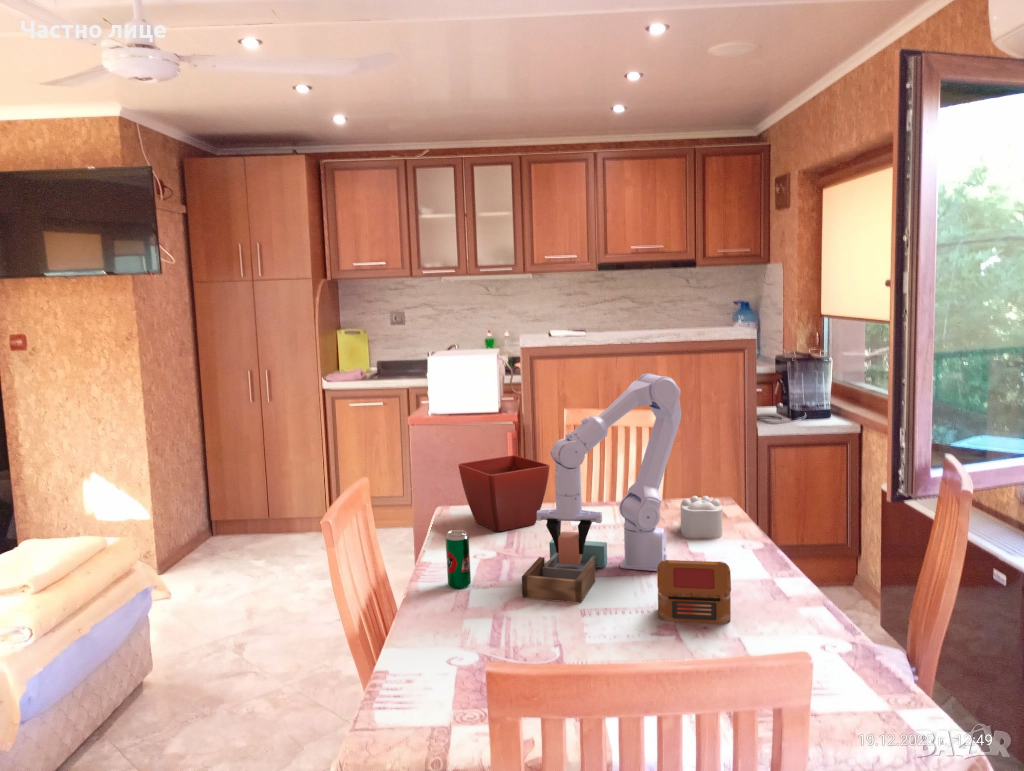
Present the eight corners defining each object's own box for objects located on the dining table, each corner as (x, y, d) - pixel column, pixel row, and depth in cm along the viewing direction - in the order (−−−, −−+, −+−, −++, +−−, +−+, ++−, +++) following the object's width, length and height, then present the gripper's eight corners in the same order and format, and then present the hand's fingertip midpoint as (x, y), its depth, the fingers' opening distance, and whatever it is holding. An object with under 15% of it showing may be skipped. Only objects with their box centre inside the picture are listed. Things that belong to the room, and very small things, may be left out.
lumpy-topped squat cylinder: (682, 538, 194) (681, 505, 193) (679, 523, 207) (679, 492, 206) (724, 539, 193) (723, 505, 192) (719, 523, 205) (718, 492, 204)
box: (761, 592, 159) (761, 537, 157) (779, 654, 132) (779, 589, 130) (625, 587, 165) (624, 534, 163) (615, 645, 137) (614, 582, 136)
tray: (607, 563, 178) (606, 542, 177) (592, 585, 164) (592, 563, 164) (553, 558, 182) (553, 538, 182) (535, 580, 169) (534, 558, 168)
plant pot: (517, 509, 226) (514, 454, 224) (553, 525, 210) (551, 464, 208) (459, 521, 216) (456, 463, 215) (492, 538, 200) (490, 475, 198)
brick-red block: (578, 564, 169) (578, 538, 169) (558, 563, 171) (558, 537, 170) (582, 558, 174) (581, 532, 173) (562, 557, 175) (561, 531, 174)
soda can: (467, 590, 165) (465, 536, 164) (445, 589, 166) (442, 535, 165) (473, 581, 170) (471, 529, 169) (451, 580, 171) (448, 528, 170)
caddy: (595, 581, 167) (594, 561, 167) (581, 603, 156) (580, 581, 155) (540, 576, 172) (539, 557, 171) (522, 597, 160) (521, 576, 160)
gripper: (603, 489, 172) (605, 547, 174) (540, 487, 176) (542, 544, 177) (598, 497, 165) (600, 558, 167) (533, 495, 169) (535, 554, 171)
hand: (570, 552), depth 172 cm, fingers closed on brick-red block, 4 cm apart
